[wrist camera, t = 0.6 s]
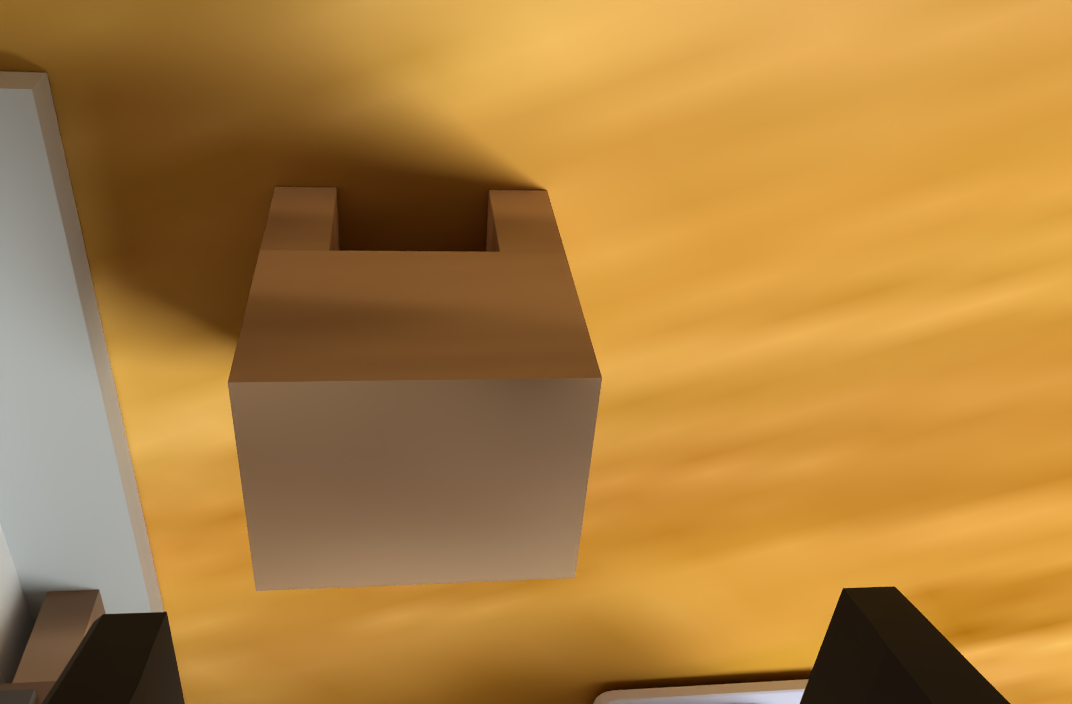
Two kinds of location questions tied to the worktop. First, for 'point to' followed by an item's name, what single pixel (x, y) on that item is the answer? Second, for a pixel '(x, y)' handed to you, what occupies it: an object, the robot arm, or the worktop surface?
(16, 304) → the rail
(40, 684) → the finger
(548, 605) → the worktop surface
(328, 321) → the brown notched block
